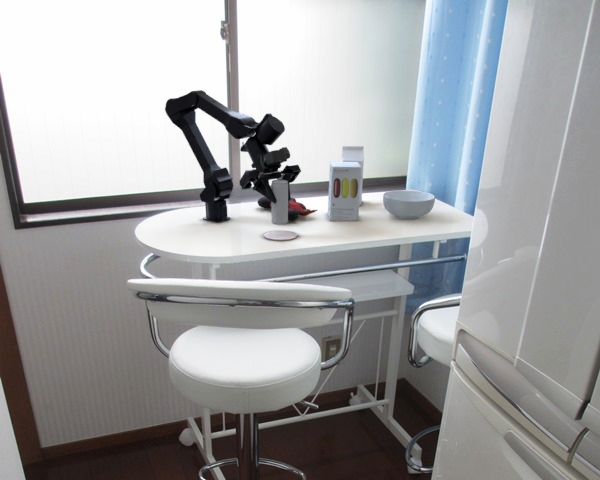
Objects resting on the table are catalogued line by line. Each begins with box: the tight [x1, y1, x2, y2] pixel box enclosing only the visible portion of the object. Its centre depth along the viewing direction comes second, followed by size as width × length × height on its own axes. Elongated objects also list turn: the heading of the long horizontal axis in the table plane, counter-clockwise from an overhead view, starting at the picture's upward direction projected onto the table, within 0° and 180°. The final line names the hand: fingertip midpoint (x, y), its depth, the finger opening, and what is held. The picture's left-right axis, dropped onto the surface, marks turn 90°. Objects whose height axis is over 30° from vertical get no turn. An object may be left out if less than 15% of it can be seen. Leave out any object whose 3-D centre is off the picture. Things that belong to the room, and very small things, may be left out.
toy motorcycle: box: [257, 196, 318, 223], centre depth 227 cm, size 25×5×16 cm
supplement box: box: [327, 161, 361, 222], centre depth 219 cm, size 10×9×17 cm
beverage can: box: [270, 179, 289, 226], centre depth 199 cm, size 5×5×12 cm
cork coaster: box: [263, 229, 298, 242], centre depth 204 cm, size 10×10×1 cm
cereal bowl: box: [382, 189, 436, 221], centre depth 223 cm, size 17×17×7 cm
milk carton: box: [341, 145, 365, 206], centre depth 236 cm, size 7×7×19 cm
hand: (282, 201), depth 198 cm, fingers closed on beverage can, 5 cm apart
